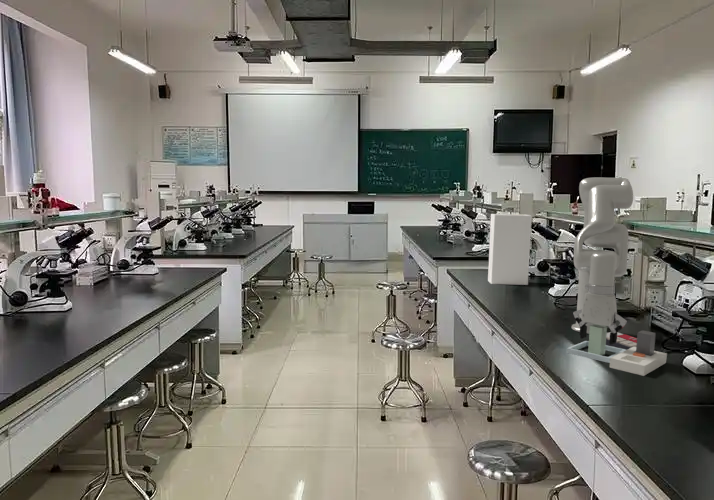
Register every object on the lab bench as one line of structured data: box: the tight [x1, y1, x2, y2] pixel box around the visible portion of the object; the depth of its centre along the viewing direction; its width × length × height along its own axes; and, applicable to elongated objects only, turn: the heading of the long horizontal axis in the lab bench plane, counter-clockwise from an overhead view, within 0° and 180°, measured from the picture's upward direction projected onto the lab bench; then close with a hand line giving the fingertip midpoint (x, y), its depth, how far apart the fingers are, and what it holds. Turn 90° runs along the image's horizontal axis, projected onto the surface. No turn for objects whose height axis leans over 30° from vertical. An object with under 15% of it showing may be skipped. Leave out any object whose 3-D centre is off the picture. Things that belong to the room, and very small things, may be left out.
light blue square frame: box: [566, 340, 626, 364], centre depth 186 cm, size 14×14×2 cm
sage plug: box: [587, 324, 608, 356], centre depth 185 cm, size 4×4×10 cm
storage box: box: [487, 213, 533, 286], centre depth 324 cm, size 21×10×40 cm, turn 88°
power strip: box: [609, 347, 668, 377], centre depth 174 cm, size 19×10×5 cm, turn 133°
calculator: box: [606, 331, 637, 350], centre depth 197 cm, size 11×4×15 cm
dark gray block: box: [636, 329, 656, 356], centre depth 177 cm, size 4×4×10 cm
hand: (597, 340), depth 185 cm, fingers open, 9 cm apart
